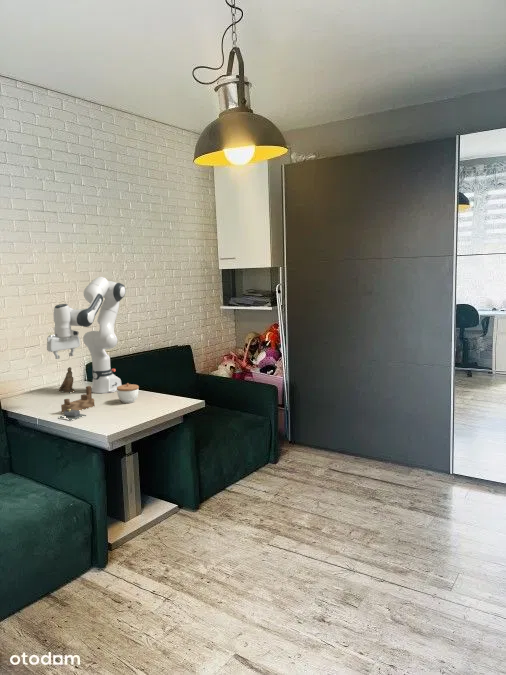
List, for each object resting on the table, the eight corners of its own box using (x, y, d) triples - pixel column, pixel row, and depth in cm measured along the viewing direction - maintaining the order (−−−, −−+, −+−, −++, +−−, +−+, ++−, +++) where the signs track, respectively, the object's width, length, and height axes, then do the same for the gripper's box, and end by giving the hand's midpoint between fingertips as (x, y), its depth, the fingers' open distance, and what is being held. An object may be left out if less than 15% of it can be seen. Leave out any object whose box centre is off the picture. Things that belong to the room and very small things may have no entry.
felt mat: (73, 413, 272) (73, 412, 272) (86, 416, 267) (86, 414, 267) (58, 418, 264) (58, 417, 264) (71, 420, 259) (70, 419, 259)
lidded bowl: (123, 398, 304) (122, 380, 302) (142, 399, 301) (142, 381, 299) (113, 403, 291) (112, 385, 290) (133, 404, 289) (132, 386, 287)
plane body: (87, 404, 289) (86, 385, 288) (94, 406, 286) (93, 386, 285) (61, 412, 274) (60, 392, 272) (69, 414, 271) (67, 393, 269)
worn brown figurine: (75, 395, 322) (78, 369, 318) (68, 397, 318) (71, 370, 314) (64, 389, 328) (66, 363, 324) (57, 391, 324) (59, 365, 320)
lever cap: (79, 415, 266) (79, 409, 266) (74, 417, 263) (74, 410, 262) (69, 414, 269) (69, 407, 268) (64, 416, 265) (64, 409, 265)
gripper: (51, 335, 268) (52, 360, 270) (81, 331, 286) (82, 355, 288) (43, 335, 272) (45, 359, 273) (73, 330, 289) (74, 354, 291)
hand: (64, 357), depth 281 cm, fingers open, 8 cm apart
